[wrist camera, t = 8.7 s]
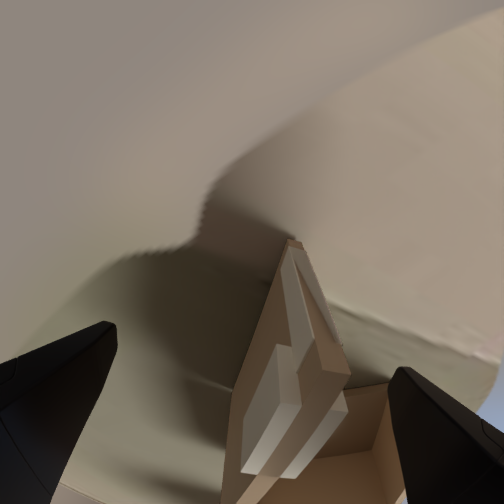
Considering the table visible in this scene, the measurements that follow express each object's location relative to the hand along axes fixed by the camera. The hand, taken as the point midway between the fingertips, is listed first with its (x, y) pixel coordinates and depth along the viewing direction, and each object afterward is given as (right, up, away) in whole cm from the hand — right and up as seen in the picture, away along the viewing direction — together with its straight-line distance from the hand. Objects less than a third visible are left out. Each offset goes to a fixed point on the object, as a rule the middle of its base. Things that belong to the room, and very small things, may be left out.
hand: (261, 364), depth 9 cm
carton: (+4, -8, +8) cm, 12 cm away
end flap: (0, 0, +5) cm, 5 cm away
